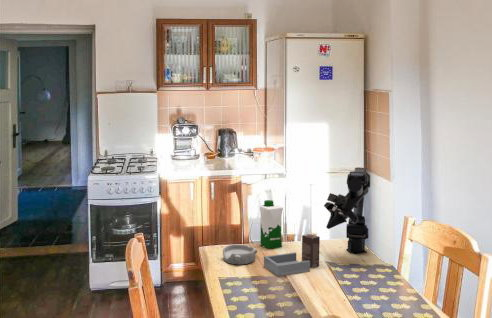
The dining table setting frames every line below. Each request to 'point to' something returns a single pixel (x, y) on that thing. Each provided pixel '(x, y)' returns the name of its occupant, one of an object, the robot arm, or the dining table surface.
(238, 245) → the dish
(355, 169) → the robot arm
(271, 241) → the milk carton
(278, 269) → the tray
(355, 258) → the dining table surface
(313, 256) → the box
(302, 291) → the dining table surface
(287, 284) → the dining table surface
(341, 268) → the dining table surface
